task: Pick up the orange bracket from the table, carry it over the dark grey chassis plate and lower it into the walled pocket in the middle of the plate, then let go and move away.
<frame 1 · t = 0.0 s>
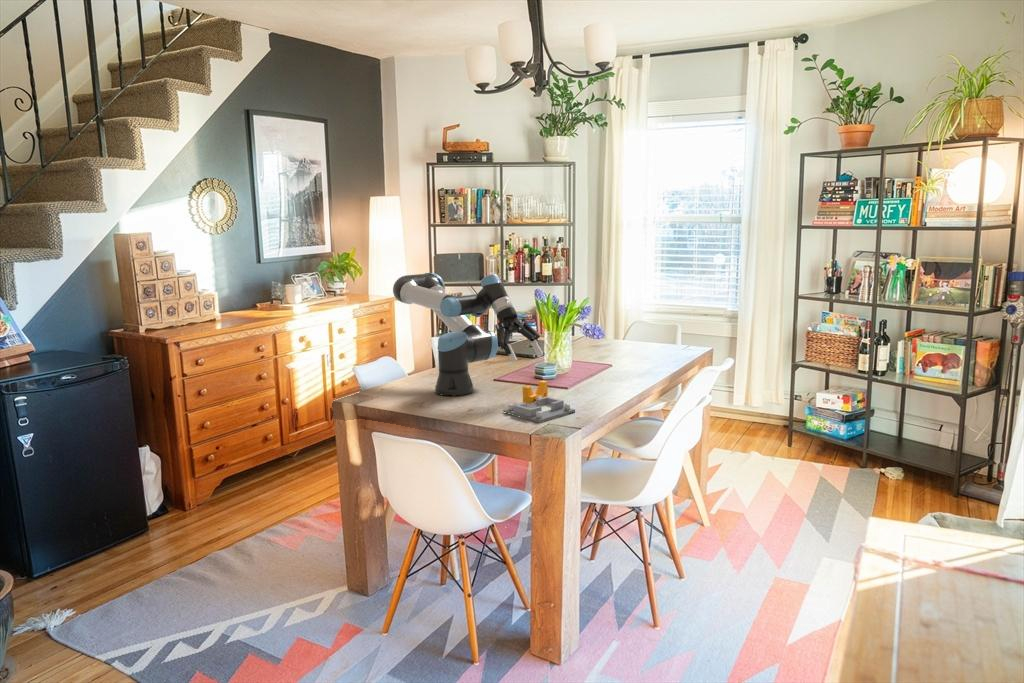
hand: (528, 358, 274), 15 cm above the table, tool tilted 35°, fingers open, 13 cm apart
chassis: (539, 412, 257), on the table
orange bracket: (537, 401, 273), on the table
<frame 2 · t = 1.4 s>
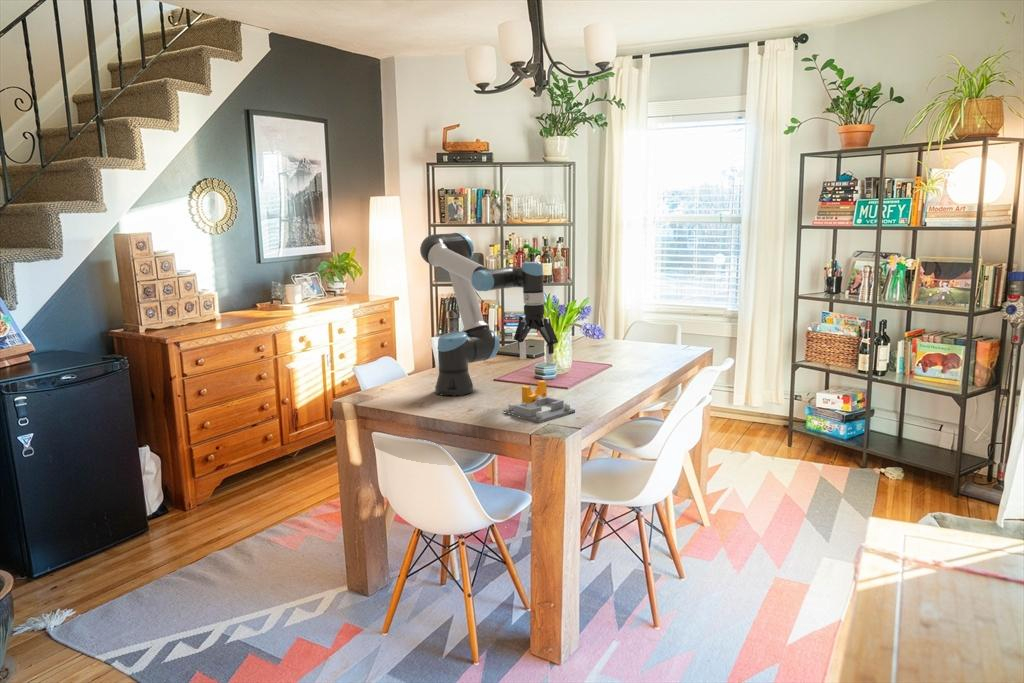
hand: (536, 360, 271), 15 cm above the table, tool pointing down, fingers open, 13 cm apart
nothing on the table moved.
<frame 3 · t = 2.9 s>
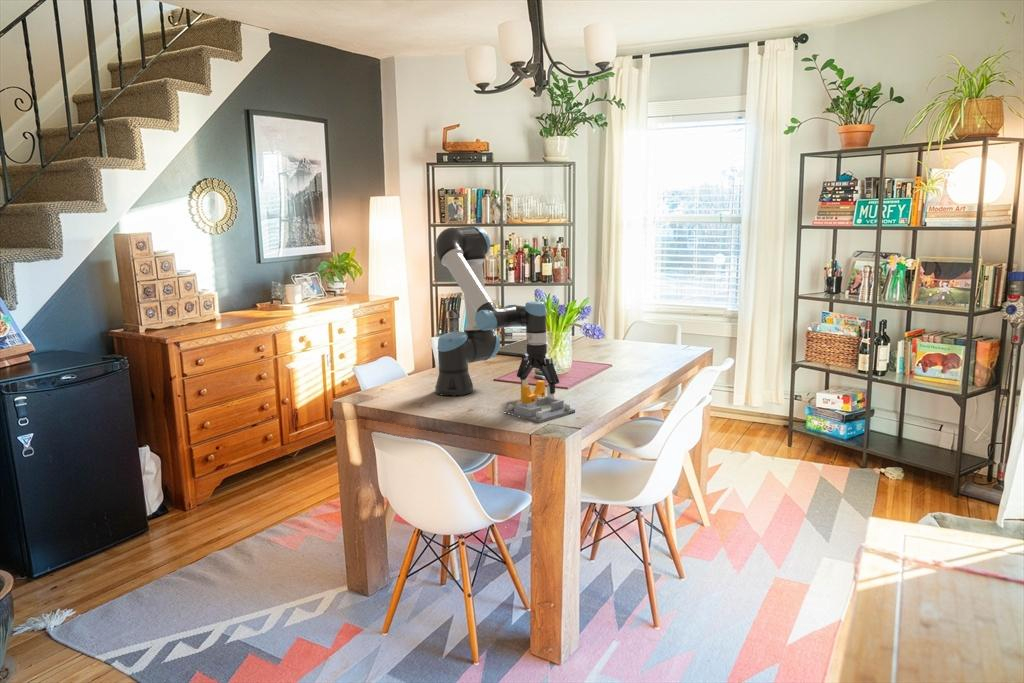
hand: (538, 399, 273), 1 cm above the table, tool pointing down, fingers open, 13 cm apart
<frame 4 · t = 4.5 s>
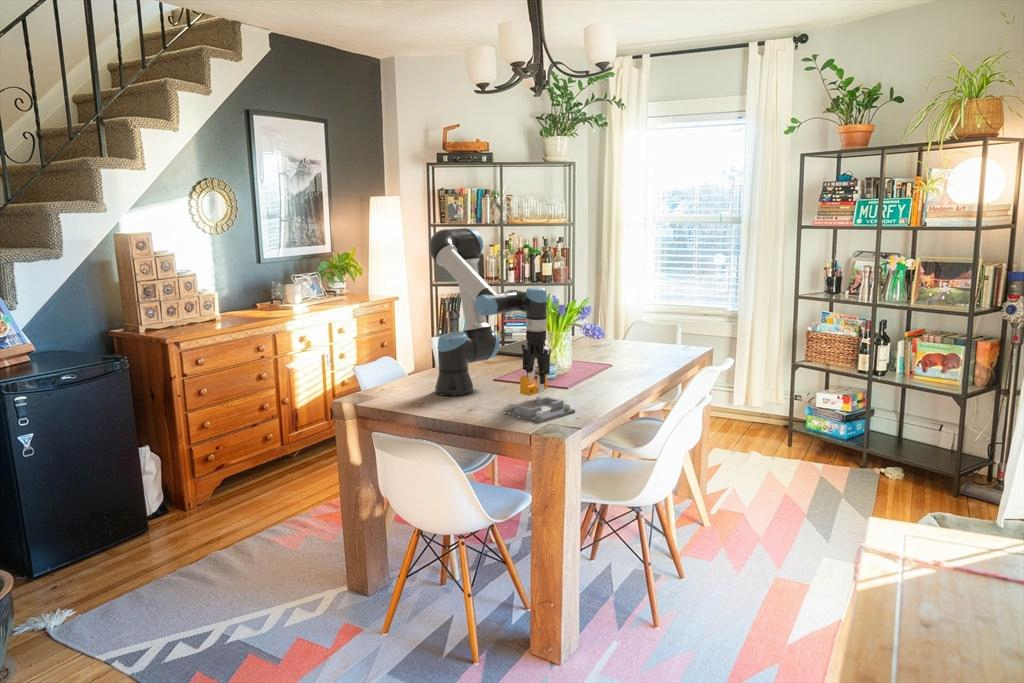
hand: (535, 390, 273), 4 cm above the table, tool pointing down, fingers closed on orange bracket, 4 cm apart
orange bracket: (535, 392, 273), point 3 cm above the table, touching gripper
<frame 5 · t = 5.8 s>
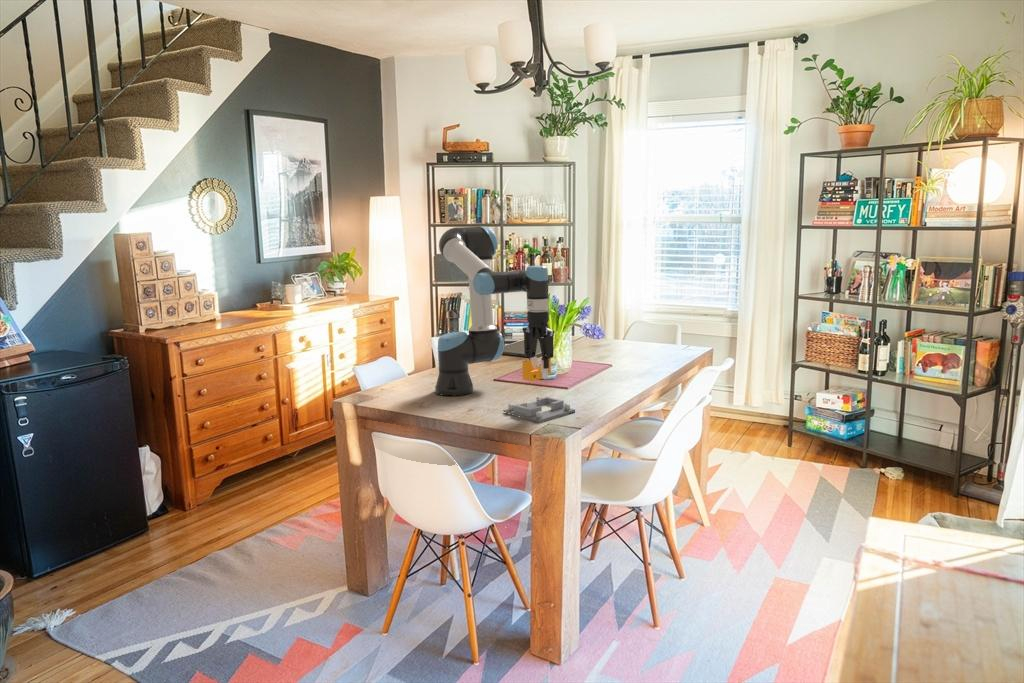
hand: (539, 376, 255), 13 cm above the table, tool pointing down, fingers closed on orange bracket, 4 cm apart
orange bracket: (538, 377, 255), point 12 cm above the table, touching gripper
when the fingers open (2 cm above the table, at t = 7.4 s): orange bracket stays where it is, resting on chassis.
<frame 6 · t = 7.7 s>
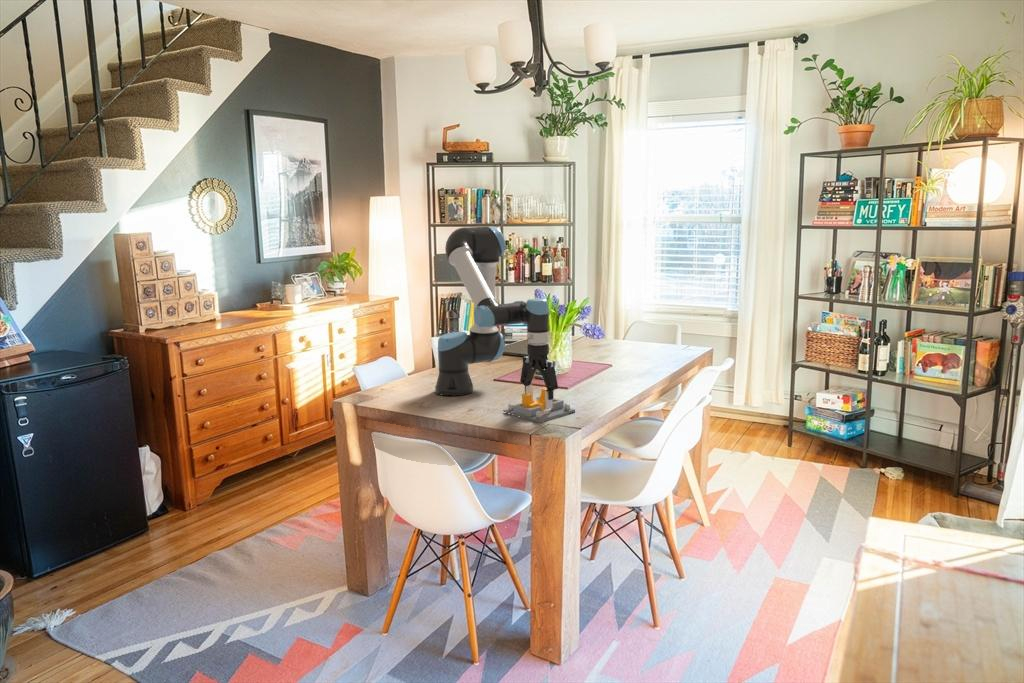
hand: (539, 405, 257), 3 cm above the table, tool pointing down, fingers open, 9 cm apart
orange bracket: (538, 410, 257), point 1 cm above the table, touching chassis
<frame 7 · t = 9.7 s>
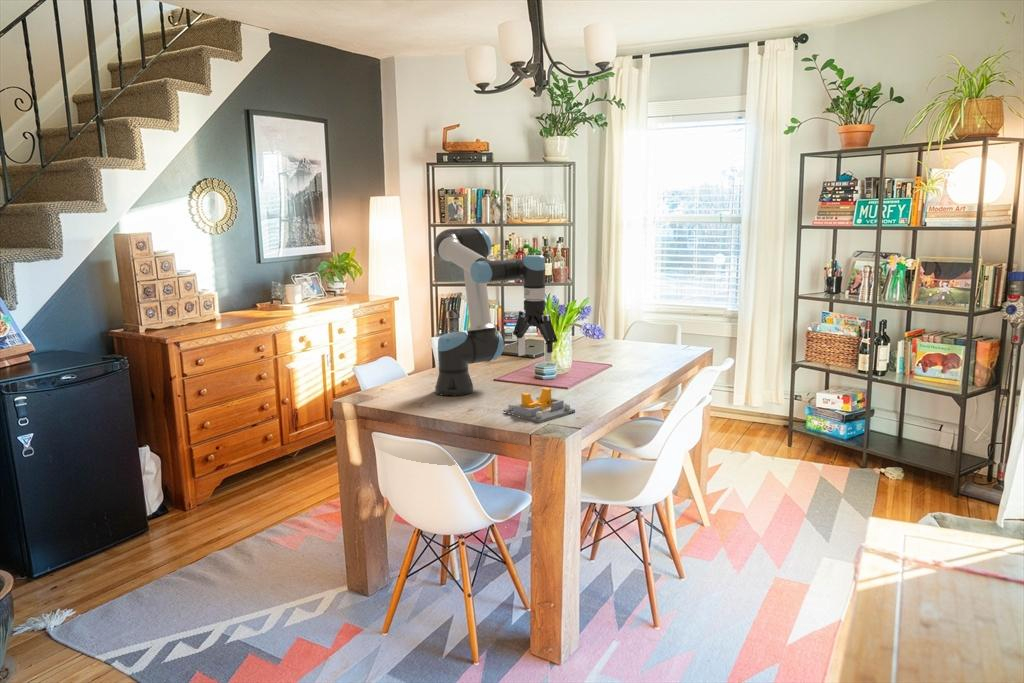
hand: (534, 358, 259), 19 cm above the table, tool pointing down, fingers open, 13 cm apart
nothing on the table moved.
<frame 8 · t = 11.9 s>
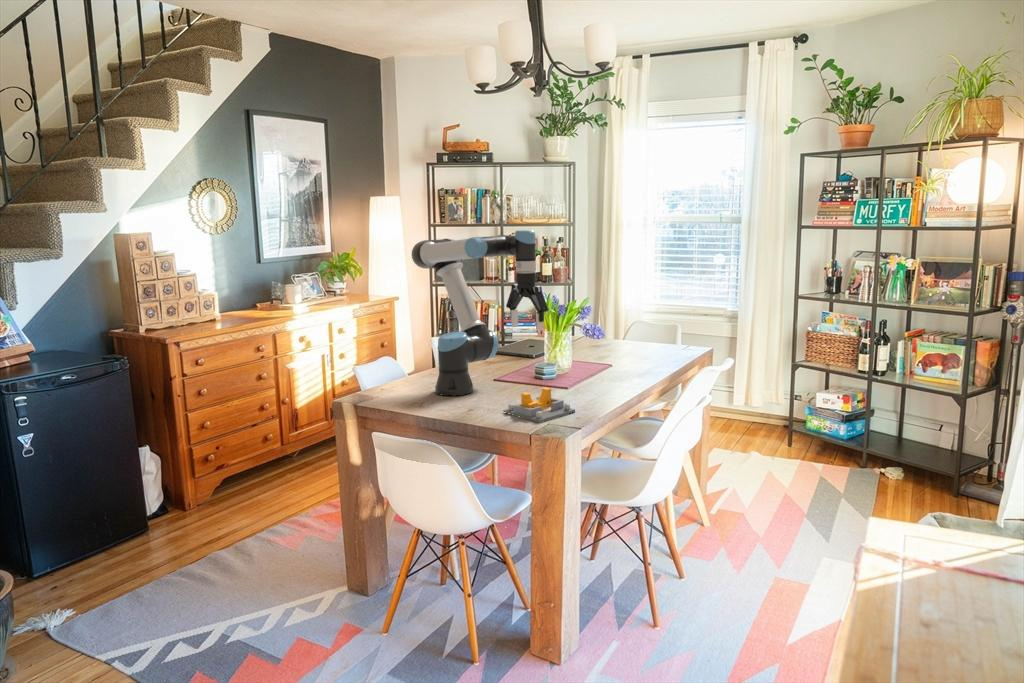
hand: (527, 328, 273), 27 cm above the table, tool pointing down, fingers open, 13 cm apart
nothing on the table moved.
at the end: orange bracket 0.7 cm off-centre on the chassis, point 0.9 cm above the chassis's base; orange bracket tilted 0°; the gripper is holding nothing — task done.
